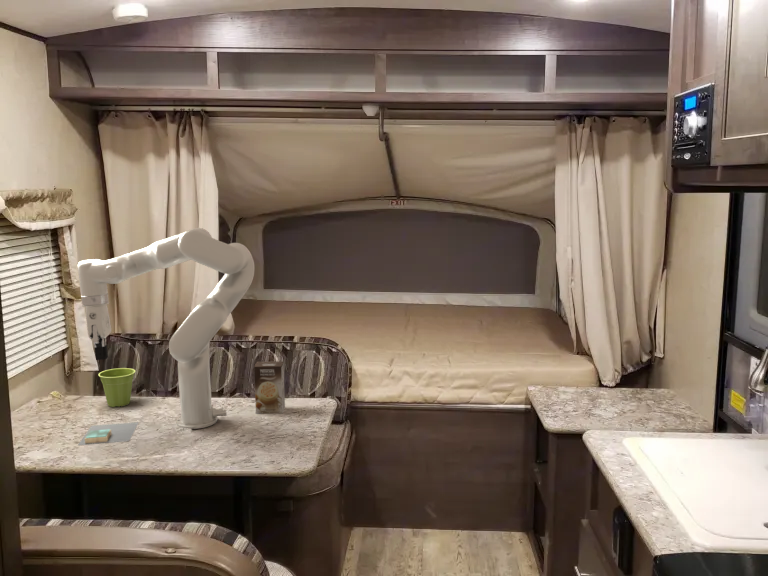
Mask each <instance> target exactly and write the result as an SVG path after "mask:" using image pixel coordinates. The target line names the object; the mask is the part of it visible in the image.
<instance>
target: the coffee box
mask: <svg viewBox="0 0 768 576" xmlns="http://www.w3.org/2000/svg"><path fill="white" fill-rule="evenodd" d="M284 368H285V366H284V361H256V363H255V364H254V367H253V371H254V372H253V373H254V374H253V375H254V377H253V378H254V396H255V397H254V398H255V400H254V402H255V414H256V415H257V414H261V415H262V414H263V415H264V414H267V415H268V414H283V413H284V411H285V408H286V402H285V399H286V398H285V369H284Z"/></svg>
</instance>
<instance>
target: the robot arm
mask: <svg viewBox="0 0 768 576" xmlns="http://www.w3.org/2000/svg"><path fill="white" fill-rule="evenodd" d="M188 261H193V262H196V263H198V264H200V265H202V266H205V267H208V268H210V269H212V270H215V271H217V272H219V273H222V274H224V275H223V276H222V277H221V278H220V280H219V282H217V284H216V286H215V287H214V288H213V289H212V290H211V292H210V293H209V294H208V295H207V296H206V298H204V299H203V300H202V301H200V303H198V304H197V305H196V306H195V307H194V308H193V309H192V311H191V312H190V313H189V314H188V315H187V317H186V318H185V320H184V321H182V323H181V324H180V326H179V327H178V328H177V329H176V330H175V332H174V333H173V334H172V336H171V337H170V339H169V343H168V350H169V351H168V352H169V354H170V356H171V357H172V358H173V359H175V360H176V361H177V377H178V379H177V380H178V391H179V392H178V394H179V407H180V417H178V418H177V419H176V421H175V425H176V426H177V427H180V428H183V429H191V430H197V429H204V428H207V427H211V426H212V425H215V424H216V423H217V422H218V417H226V416H227V413H228V412H227V409H224V408H215V407H214V404H212V390H211V387H212V386H211V375H210V374H211V370H210V369H211V367H210V342H211V340H212V339H213V338H214V337H215V336H216V334H217V333H218V331H219V330H220V329H221V328H222V327H223V326H224V324H225V323H226V321H227V320H228V318H229V316H230V315H231V313H232V312H233V310H234V309H235V308H236V307H237V306H238V304H239V302H240V301H241V300H242V299H243V297H244V296H245V295H246V293H247V291H248V290H249V289H250V286H251V285H252V282H253V279H254V276H255V261H254V258H253V255H252V253H251V252H250V250H249V248H247V246H246V245H244V244H242V243H240V242H231V243H226V242H224V241H220V240H218V239H216V238H213V237H212V234H211V233H210V232H209V231H208V230H206V229H204V228H201V227H195V228H192V229H189V230H186V231H183V232H180V233H177V234H174V235H172V236H169V237H166V238H163V239H159V240H157V241H155V242H153V243H151V244H150V245H148V246H146V247H144V248H141V249H137V250H134V251H132V252H130V253H125V254H122V255H120V256H116V257H112V258H110V259H106V260H102V259H99V258H95V259H94V258H93V259H83V260H80V261H79V262H78V264H77V274H78V275H77V276H78V280H79V281H78V283H79V290H80V298H81V299H80V300H81V307H83V308H85V317H86V318H85V319H86V328H87V335H88V338H89V340H93V347H94V354H95V360H97V361H102V360H107V359H108V358H109V354H108V346H107V337H108V336H109V335H110V334H111V333H112V325H111V318H110V313H109V308H108V305H109V304H110V301H109V300H110V298H109V292H108V291H109V290H108V284H111V285H114V284H115V285H117V284H121V283H123V282H125V281H128V280H130V279H132V278H135V277H139V276H140V275H144V274H146V273H149V272H152V271H156V270H164V269H168V268H171V267H174V266H176V265H180V264H182V263H184V262H188Z"/></svg>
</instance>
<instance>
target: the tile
mask: <svg viewBox="0 0 768 576" xmlns="http://www.w3.org/2000/svg"><path fill="white" fill-rule="evenodd" d="M110 436H111V430H110V429H107V430H94V431H90V432H89V433H88V435H87V436H86V438H85V443H95V442H107V441H108V439H109V437H110Z"/></svg>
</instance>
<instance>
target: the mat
mask: <svg viewBox="0 0 768 576" xmlns="http://www.w3.org/2000/svg"><path fill="white" fill-rule="evenodd" d="M138 425H139V421H136V422H121V423H120V422H119V423H111V424H110V423H108V424H97V425H91V426H90V427H89V428H88V430H87V432H86V433H85V434H84V435H83V437H82V438H81V440H80V442H79V443H78V444H77V446H89V445H98V444H99V445H100V444H101V445H102V444H109V443H110V444H114V443H124V442H125V443H127V442H130V441H131V438H132V436H133V435H134V432H135V431H136V428H137V426H138ZM107 429H110V430H111V436H110V437H109V439H108V441H107V442H95V443H85V438H86V436H87V435H88V433H89V432H90V431H94V430H107Z"/></svg>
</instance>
